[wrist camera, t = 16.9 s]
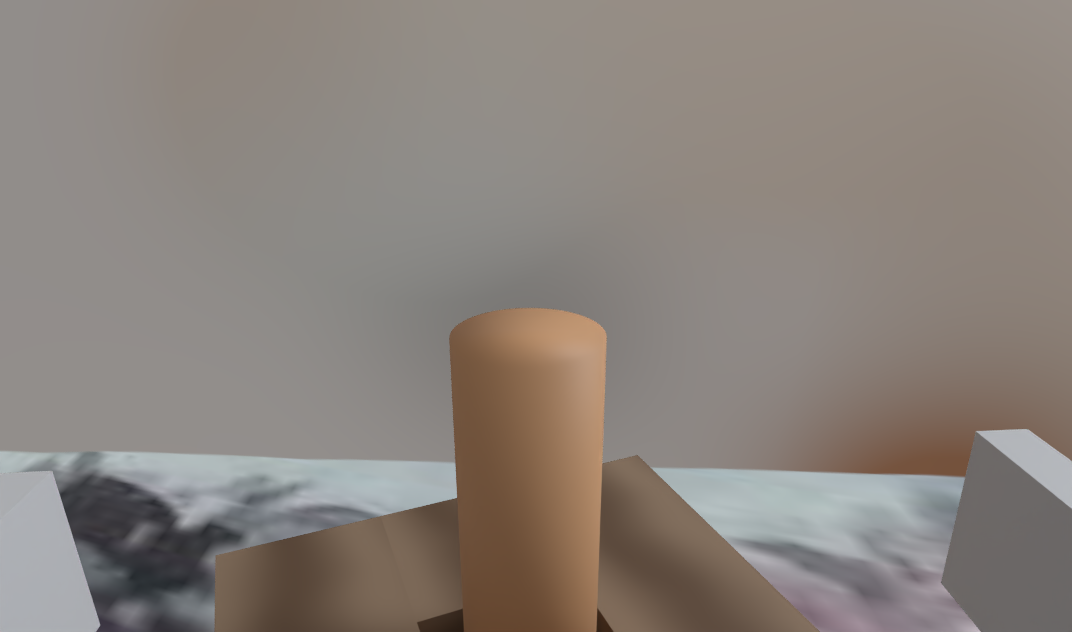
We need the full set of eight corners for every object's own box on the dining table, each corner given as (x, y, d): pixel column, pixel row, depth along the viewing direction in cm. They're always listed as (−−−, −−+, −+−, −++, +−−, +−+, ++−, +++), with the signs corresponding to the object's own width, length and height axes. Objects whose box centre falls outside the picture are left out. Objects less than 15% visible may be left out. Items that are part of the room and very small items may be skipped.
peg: (561, 679, 28) (566, 300, 22) (614, 777, 24) (635, 351, 19) (455, 716, 27) (431, 319, 21) (493, 827, 23) (478, 379, 17)
